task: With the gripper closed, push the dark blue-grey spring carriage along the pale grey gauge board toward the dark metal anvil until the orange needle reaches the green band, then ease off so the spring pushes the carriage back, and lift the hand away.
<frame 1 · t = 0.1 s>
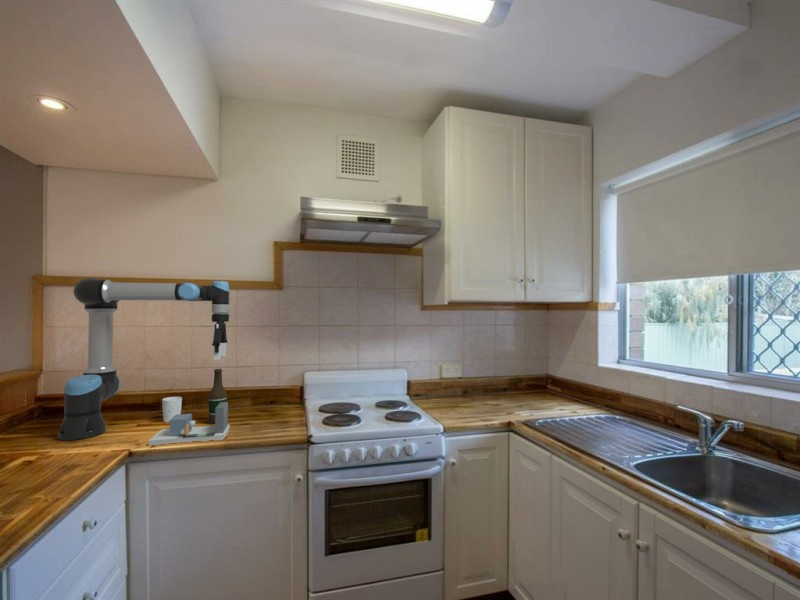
hand: (220, 358, 183), 28 cm above the worktop, tool pointing down, fingers open, 13 cm apart
gauge board: (191, 436, 154), on the worktop
carriage: (182, 425, 151), point 5 cm above the worktop, slide at 0.0 cm
beer bottle: (217, 422, 174), on the worktop
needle: (187, 429, 148), point 5 cm above the worktop, slide at 0.0 cm
white cup: (171, 420, 177), on the worktop
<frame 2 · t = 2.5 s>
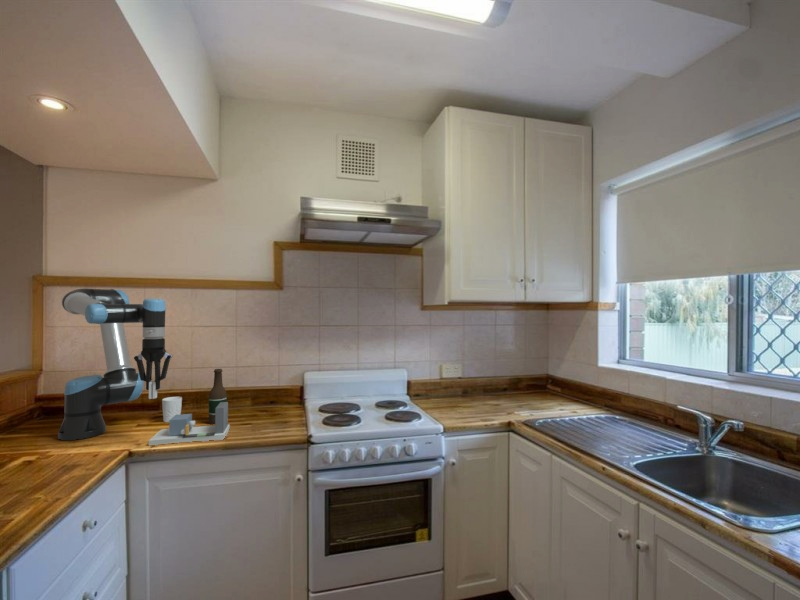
hand: (153, 397, 150), 16 cm above the worktop, tool pointing down, fingers closed
nothing on the worktop moved.
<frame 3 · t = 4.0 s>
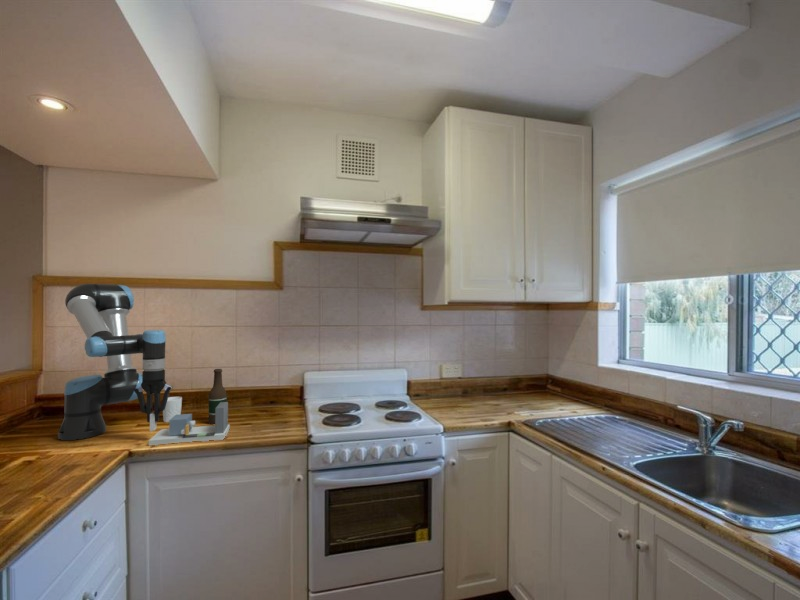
hand: (153, 429, 150), 4 cm above the worktop, tool pointing down, fingers closed
nothing on the worktop moved.
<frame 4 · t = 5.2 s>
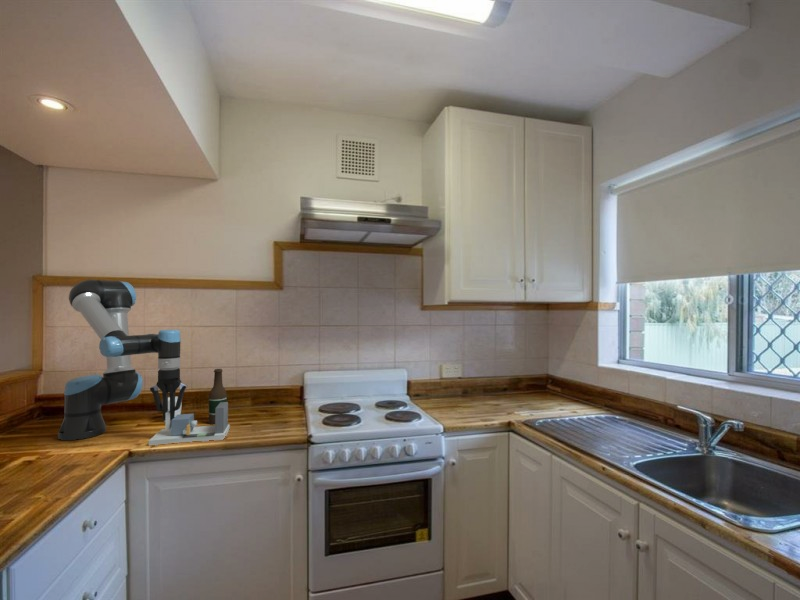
hand: (168, 428, 151), 4 cm above the worktop, tool pointing down, fingers closed
carriage: (184, 425, 152), point 5 cm above the worktop, slide at 0.7 cm, touching gripper, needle
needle: (188, 429, 148), point 5 cm above the worktop, slide at 0.4 cm, touching carriage
everything else where it was.
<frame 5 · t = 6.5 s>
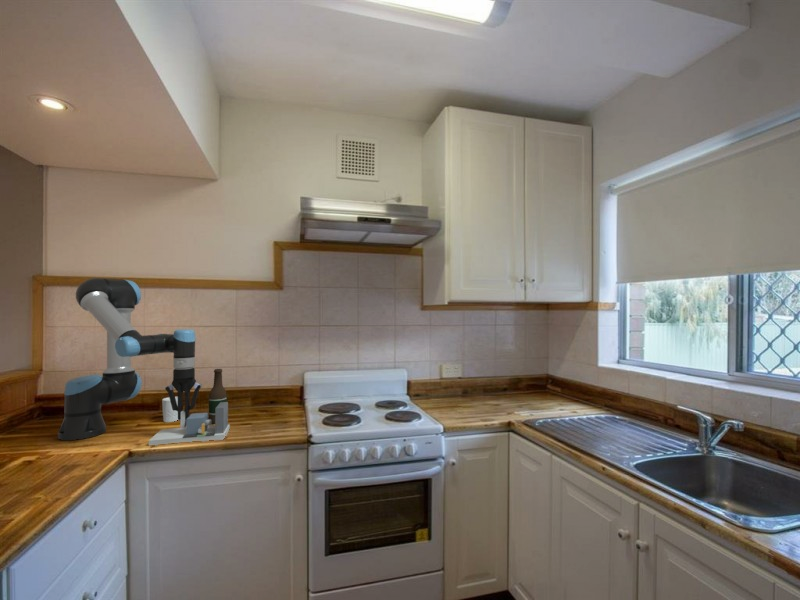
hand: (183, 427, 153), 4 cm above the worktop, tool pointing down, fingers closed
carriage: (199, 424, 153), point 5 cm above the worktop, slide at 6.0 cm, touching gripper, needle
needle: (203, 428, 150), point 5 cm above the worktop, slide at 5.7 cm, touching carriage
everything else where it was.
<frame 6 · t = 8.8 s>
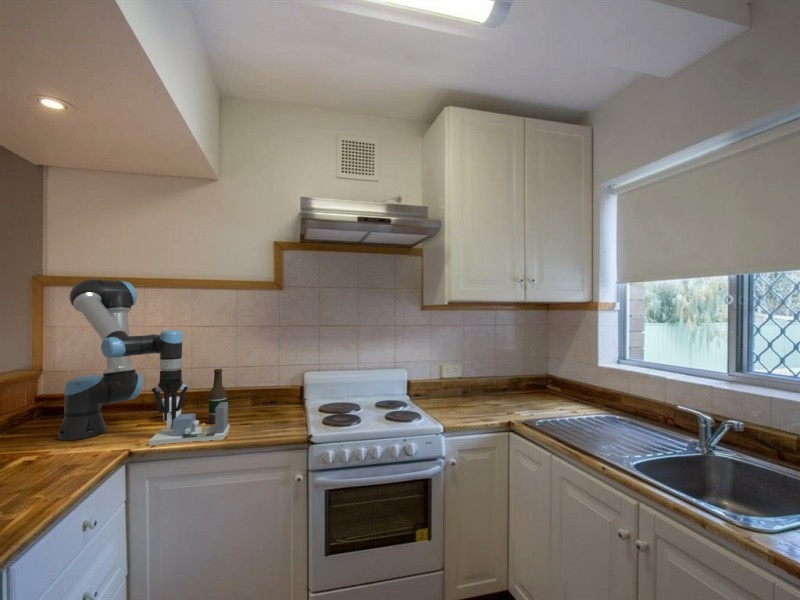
hand: (169, 428, 152), 4 cm above the worktop, tool pointing down, fingers closed
carriage: (186, 425, 152), point 5 cm above the worktop, slide at 1.3 cm, touching gripper
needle: (203, 428, 150), point 5 cm above the worktop, slide at 5.7 cm
everything else where it was.
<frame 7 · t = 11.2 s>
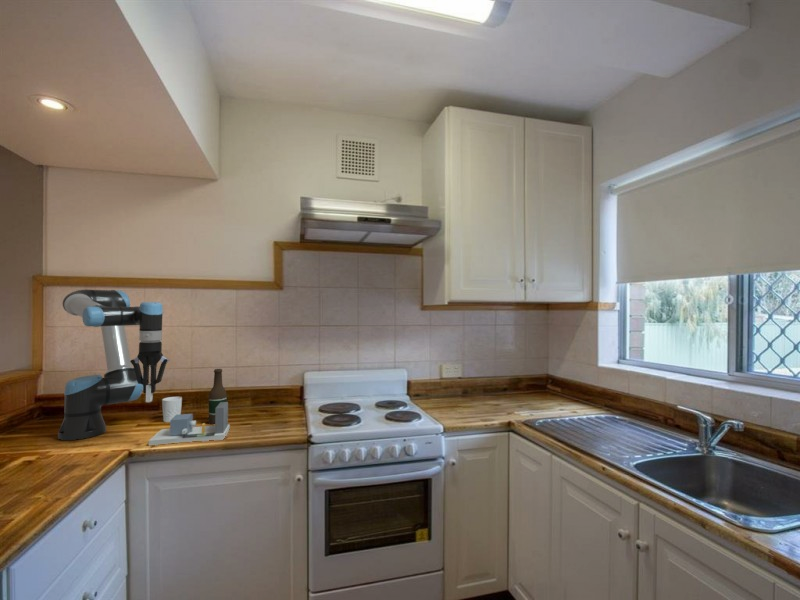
hand: (149, 401, 150), 15 cm above the worktop, tool pointing down, fingers closed
carriage: (183, 425, 152), point 5 cm above the worktop, slide at 0.3 cm
everything else where it was.
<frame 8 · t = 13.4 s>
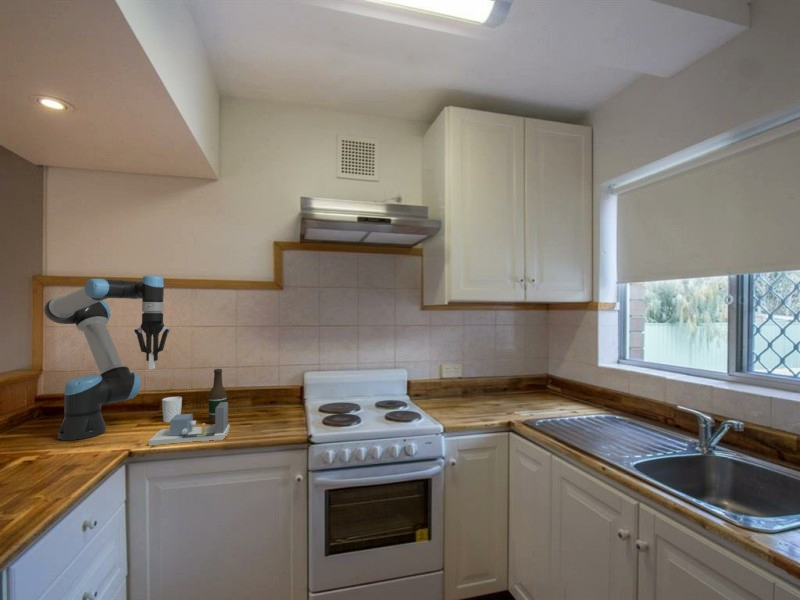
hand: (152, 368, 160), 26 cm above the worktop, tool pointing down, fingers closed
nothing on the worktop moved.
at the end: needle slide at 5.7 cm; carriage slide at 0.3 cm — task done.
